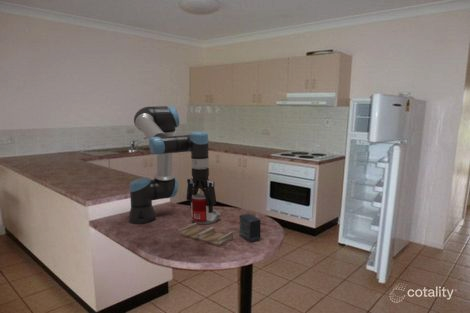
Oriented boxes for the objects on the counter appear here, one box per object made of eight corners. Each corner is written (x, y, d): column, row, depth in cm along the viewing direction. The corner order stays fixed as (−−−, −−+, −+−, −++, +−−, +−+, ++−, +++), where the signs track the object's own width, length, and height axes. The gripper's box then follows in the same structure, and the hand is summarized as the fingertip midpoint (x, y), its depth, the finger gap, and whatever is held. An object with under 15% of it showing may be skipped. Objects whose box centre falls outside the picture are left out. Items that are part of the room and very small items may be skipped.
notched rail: (181, 236, 165) (180, 229, 164) (195, 229, 174) (195, 222, 173) (219, 247, 152) (219, 239, 151) (233, 239, 161) (232, 232, 160)
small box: (261, 240, 159) (261, 219, 157) (249, 242, 156) (249, 221, 154) (250, 232, 168) (250, 213, 167) (239, 235, 165) (238, 215, 164)
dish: (223, 219, 189) (222, 211, 188) (207, 227, 177) (207, 218, 176) (203, 215, 196) (202, 207, 196) (187, 222, 185) (187, 213, 184)
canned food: (212, 221, 145) (211, 196, 143) (194, 223, 143) (193, 198, 141) (208, 215, 152) (208, 192, 150) (191, 217, 150) (190, 194, 148)
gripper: (176, 166, 146) (178, 215, 150) (213, 171, 135) (214, 224, 138) (188, 163, 152) (189, 211, 156) (224, 168, 141) (225, 219, 145)
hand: (201, 217), depth 147 cm, fingers closed on canned food, 8 cm apart
